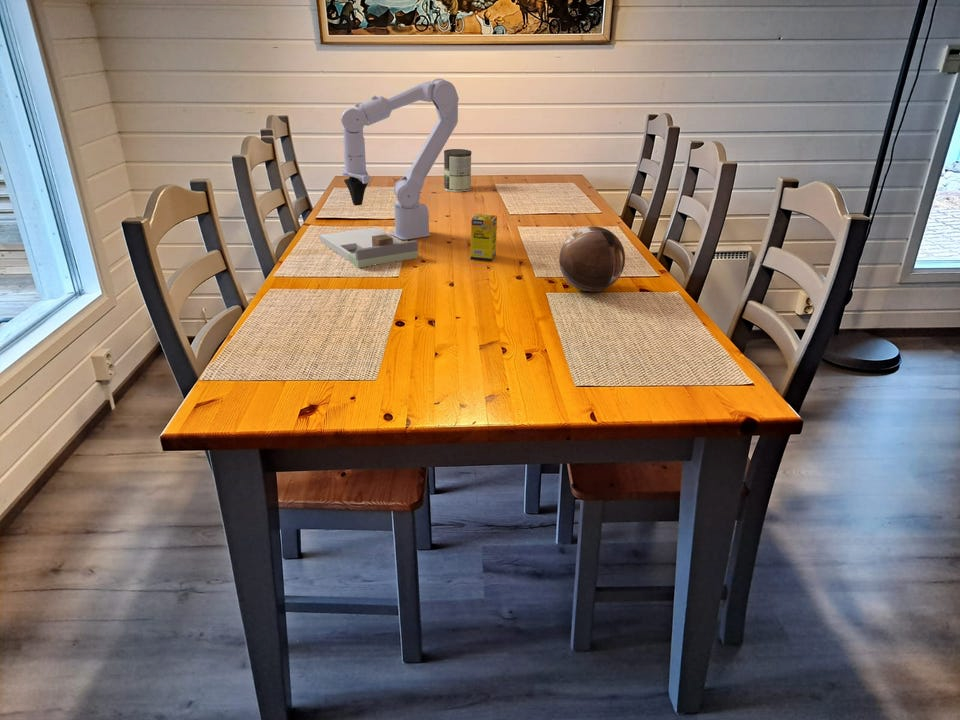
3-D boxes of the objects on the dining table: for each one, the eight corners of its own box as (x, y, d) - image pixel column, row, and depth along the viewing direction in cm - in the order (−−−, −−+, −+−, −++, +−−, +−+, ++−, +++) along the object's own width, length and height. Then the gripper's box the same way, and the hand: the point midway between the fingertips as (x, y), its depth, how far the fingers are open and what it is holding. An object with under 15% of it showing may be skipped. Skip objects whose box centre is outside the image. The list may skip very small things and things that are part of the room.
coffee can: (438, 189, 249) (438, 151, 243) (455, 185, 256) (455, 148, 250) (459, 193, 244) (460, 154, 237) (476, 189, 251) (477, 151, 245)
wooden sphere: (545, 283, 158) (550, 222, 152) (598, 276, 164) (605, 216, 157) (577, 305, 146) (584, 239, 139) (633, 296, 152) (642, 233, 145)
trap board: (375, 234, 193) (374, 218, 191) (417, 257, 173) (417, 241, 171) (320, 242, 184) (318, 226, 182) (358, 268, 165) (357, 250, 163)
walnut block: (386, 249, 173) (385, 234, 171) (393, 253, 170) (392, 238, 168) (372, 251, 171) (371, 236, 169) (379, 255, 168) (378, 240, 166)
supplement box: (492, 261, 172) (493, 220, 167) (470, 259, 173) (470, 218, 168) (496, 255, 177) (497, 215, 173) (474, 253, 178) (475, 213, 174)
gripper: (330, 152, 182) (334, 201, 188) (351, 160, 172) (355, 212, 178) (354, 150, 186) (357, 198, 192) (376, 158, 175) (378, 209, 181)
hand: (357, 204), depth 185 cm, fingers closed
